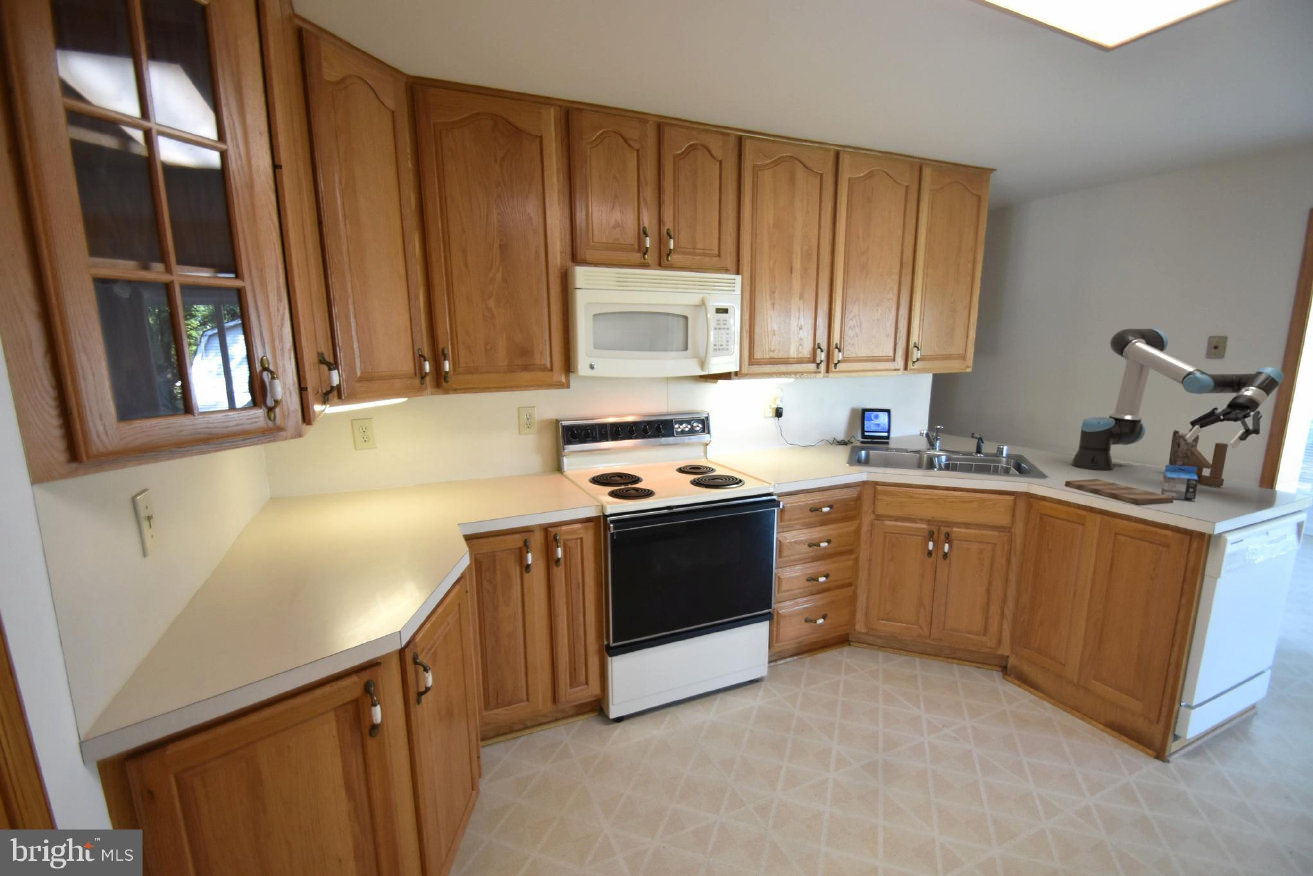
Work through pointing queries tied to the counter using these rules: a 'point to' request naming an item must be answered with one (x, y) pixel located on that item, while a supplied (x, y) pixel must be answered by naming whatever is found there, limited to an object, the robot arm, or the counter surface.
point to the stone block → (1181, 448)
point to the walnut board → (1119, 492)
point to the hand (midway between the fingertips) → (1209, 442)
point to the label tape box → (1180, 482)
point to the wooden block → (1209, 465)
